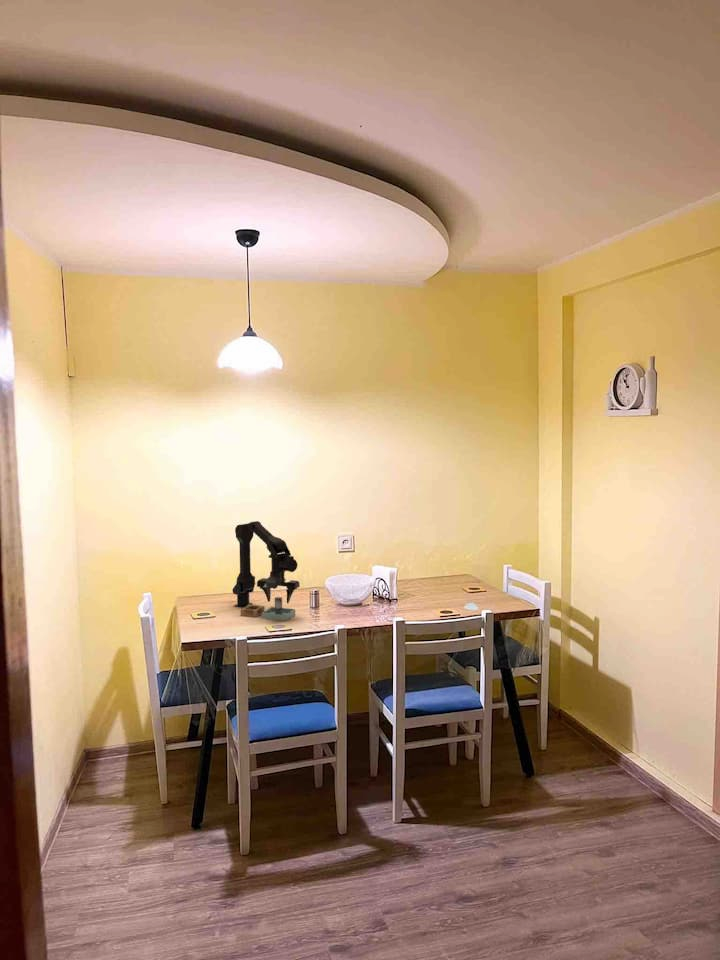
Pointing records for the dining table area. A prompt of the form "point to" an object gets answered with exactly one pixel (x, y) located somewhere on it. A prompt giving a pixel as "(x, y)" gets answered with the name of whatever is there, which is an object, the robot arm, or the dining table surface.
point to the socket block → (252, 610)
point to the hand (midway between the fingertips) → (278, 602)
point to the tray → (285, 615)
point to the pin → (278, 605)
